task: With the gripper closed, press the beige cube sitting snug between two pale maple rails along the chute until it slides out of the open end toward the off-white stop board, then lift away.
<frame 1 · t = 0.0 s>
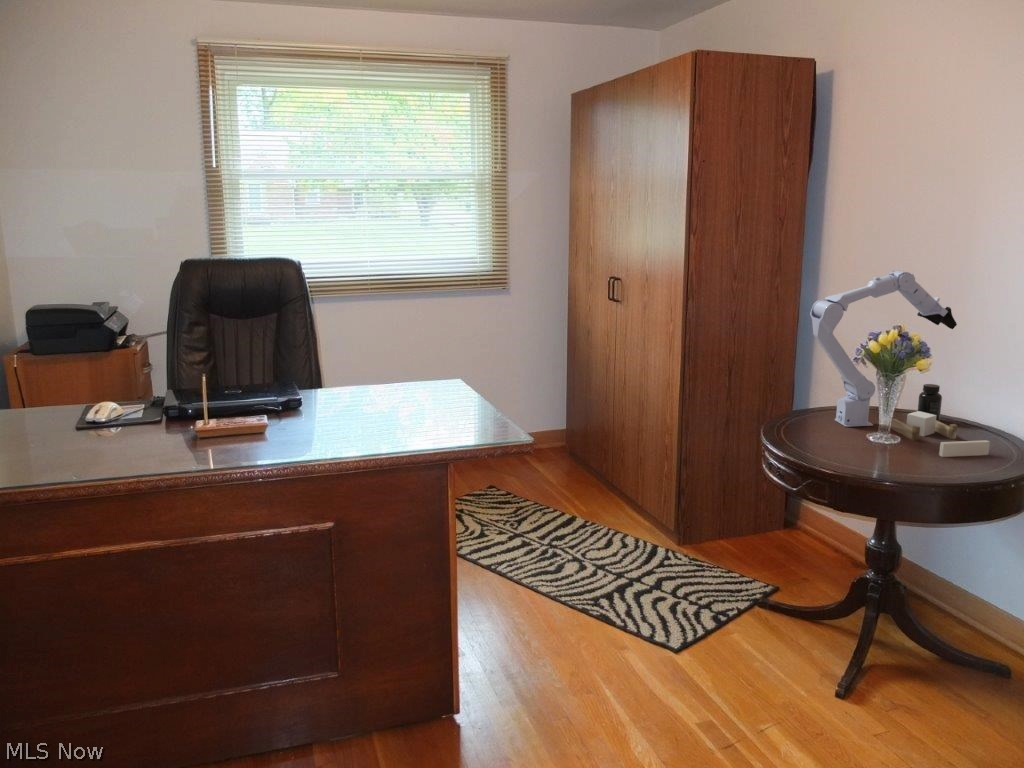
hand: (946, 324, 256), 32 cm above the table, tool tilted 50°, fingers open, 7 cm apart
supplement bottle: (927, 420, 264), on the table
chute: (921, 433, 251), on the table
stop board: (963, 455, 231), on the table
beige cube: (919, 433, 252), on the table
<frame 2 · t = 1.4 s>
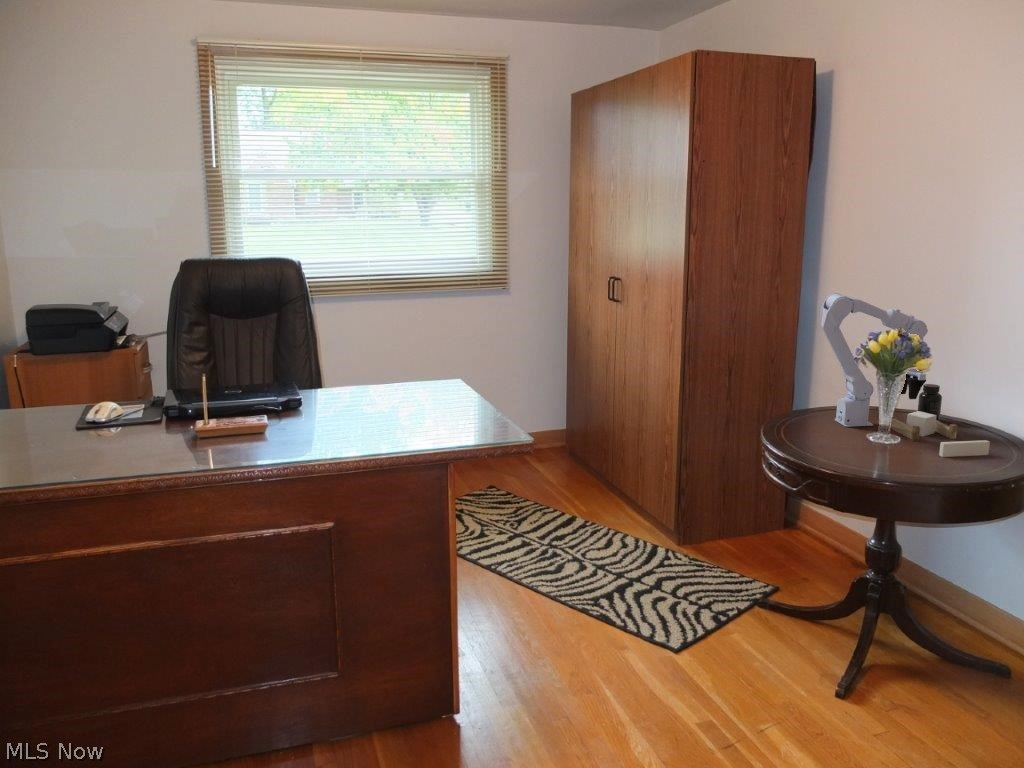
hand: (907, 396, 258), 9 cm above the table, tool pointing down, fingers open, 6 cm apart
nothing on the table moved.
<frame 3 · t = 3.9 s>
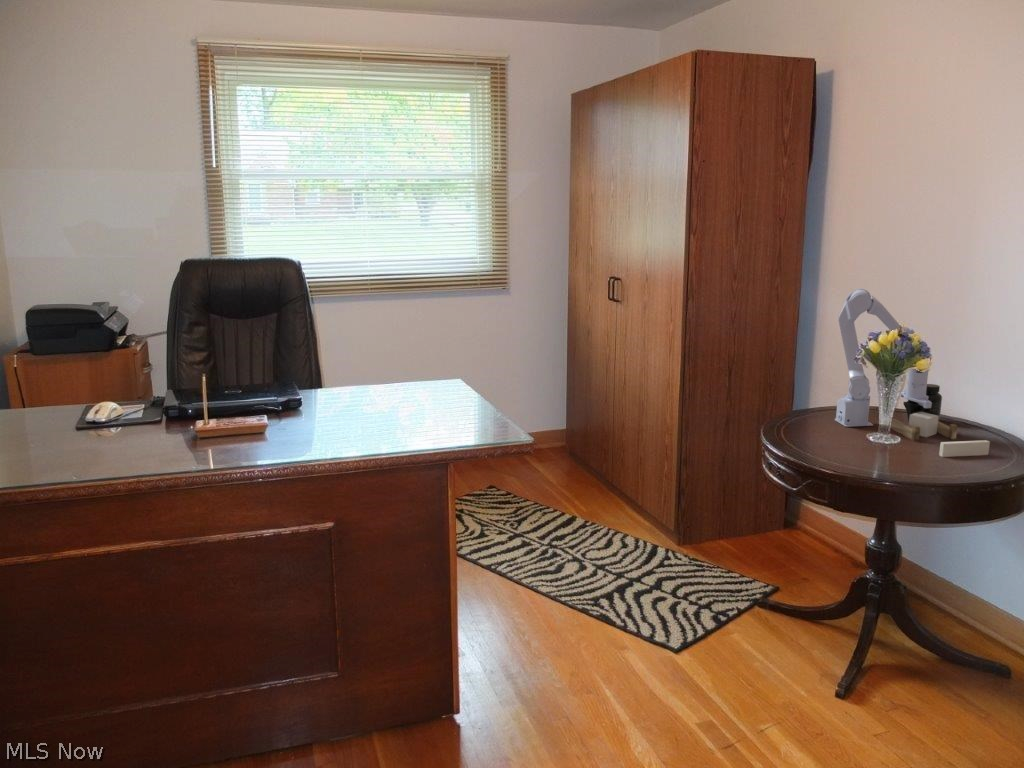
hand: (912, 423, 256), 1 cm above the table, tool pointing down, fingers closed
beige cube: (922, 433, 251), on the table, touching gripper
everything else where it was.
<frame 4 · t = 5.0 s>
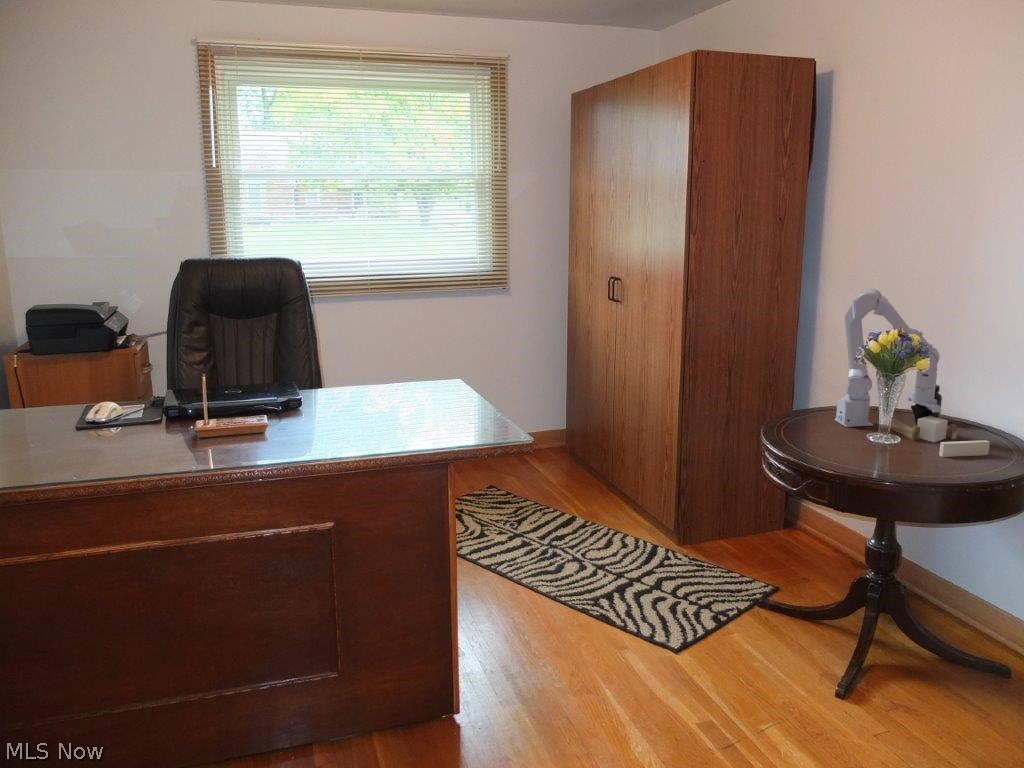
hand: (920, 428, 252), 1 cm above the table, tool pointing down, fingers closed
beige cube: (930, 438, 246), on the table, touching gripper
everything else where it was.
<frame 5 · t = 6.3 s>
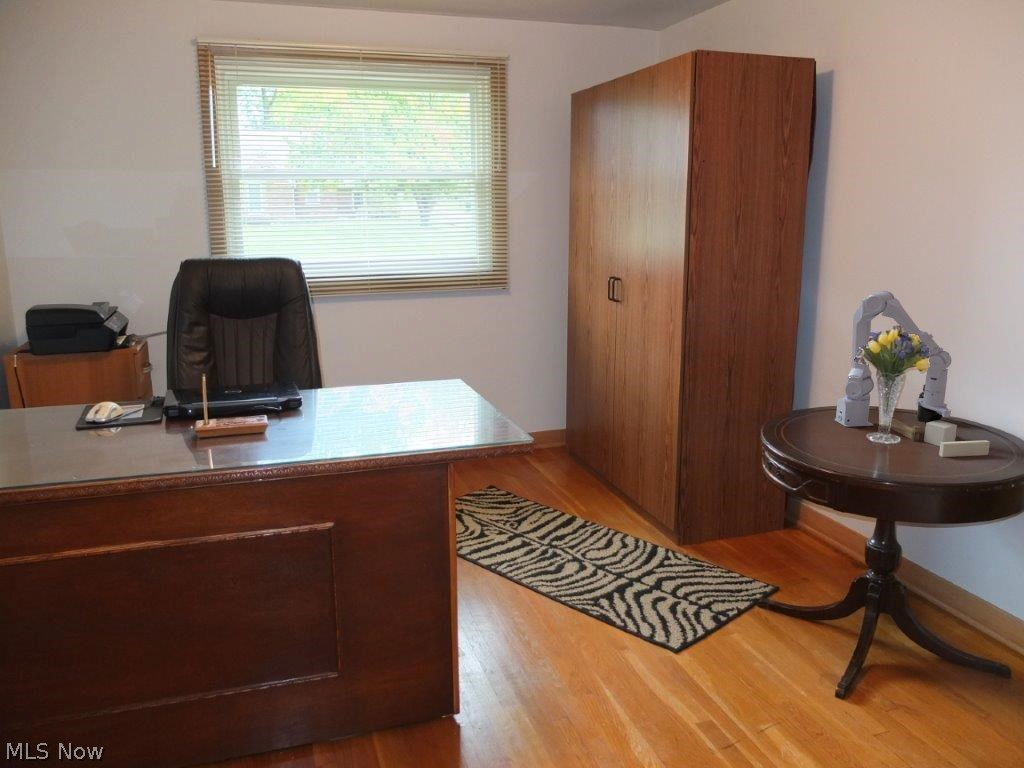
hand: (930, 432, 247), 1 cm above the table, tool pointing down, fingers closed
beige cube: (938, 443, 242), on the table, touching gripper
everything else where it was.
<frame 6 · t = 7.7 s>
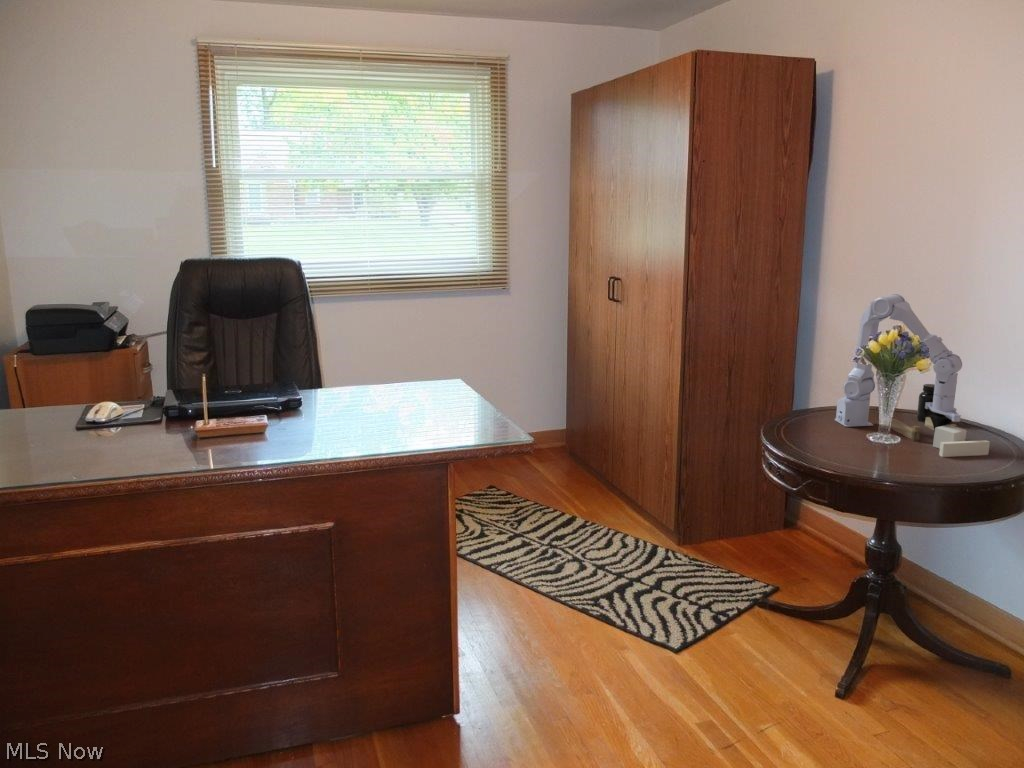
hand: (939, 437, 242), 1 cm above the table, tool pointing down, fingers closed
beige cube: (948, 448, 237), on the table, touching gripper
everything else where it was.
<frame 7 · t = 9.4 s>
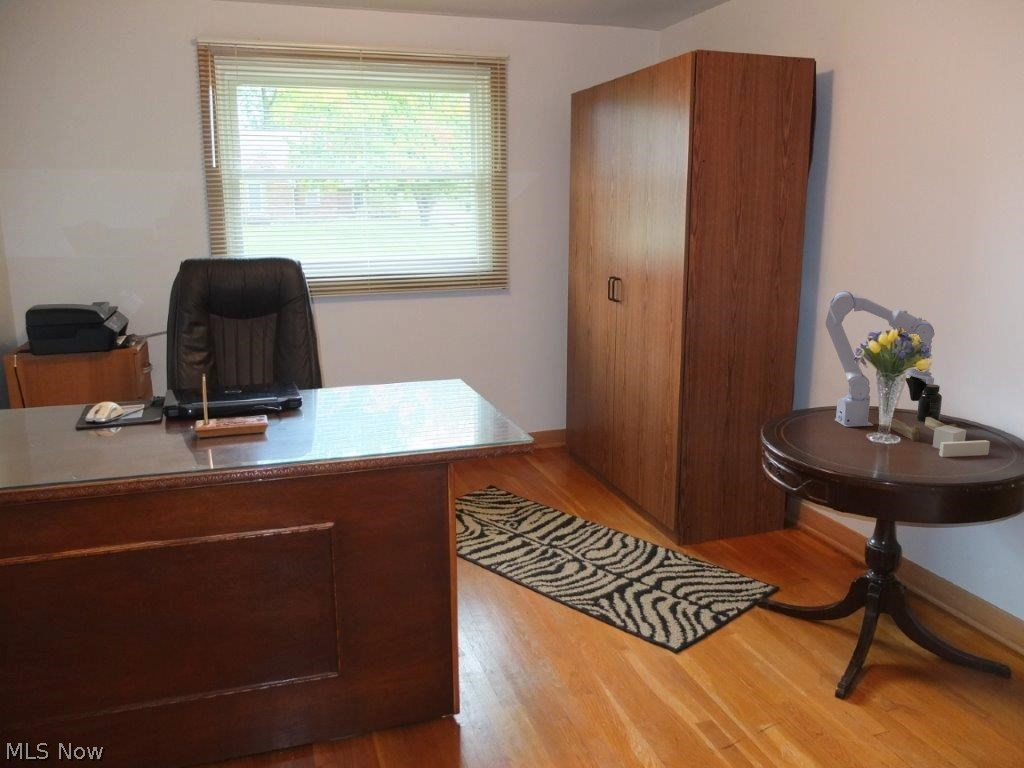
hand: (914, 400, 254), 9 cm above the table, tool pointing down, fingers closed
beige cube: (948, 448, 237), on the table
everything else where it was.
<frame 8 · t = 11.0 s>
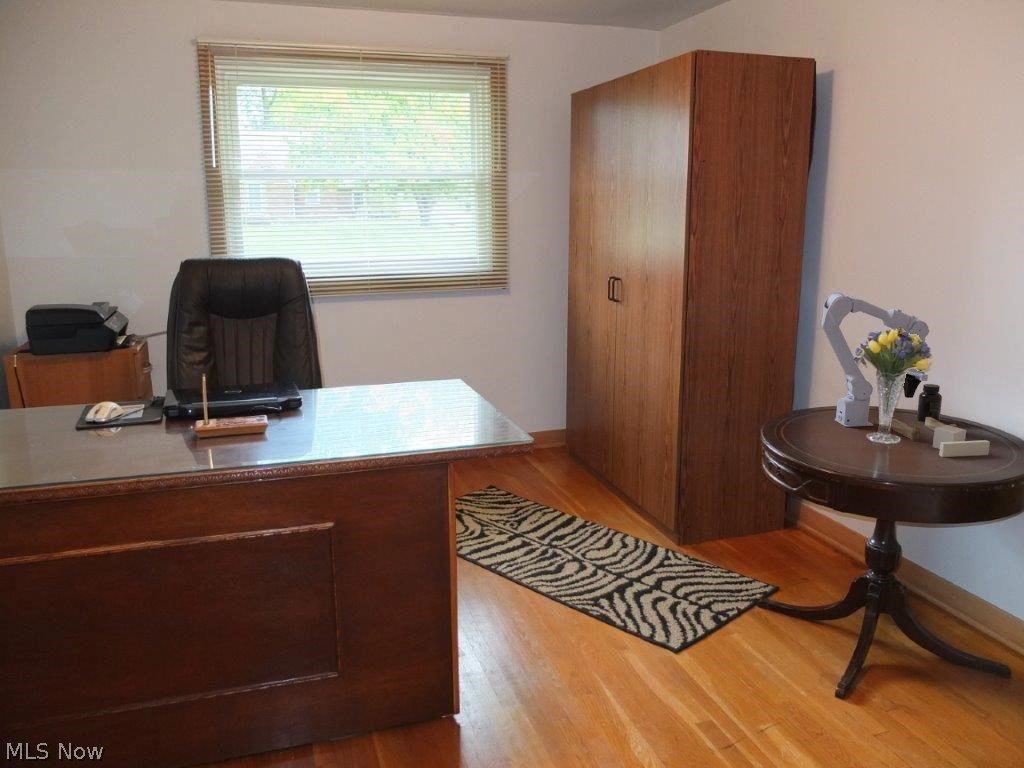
hand: (908, 397, 257), 9 cm above the table, tool pointing down, fingers closed
nothing on the table moved.
at the end: beige cube inside the target area (0.5 cm from its centre), on the table; beige cube tilted 2° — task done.
